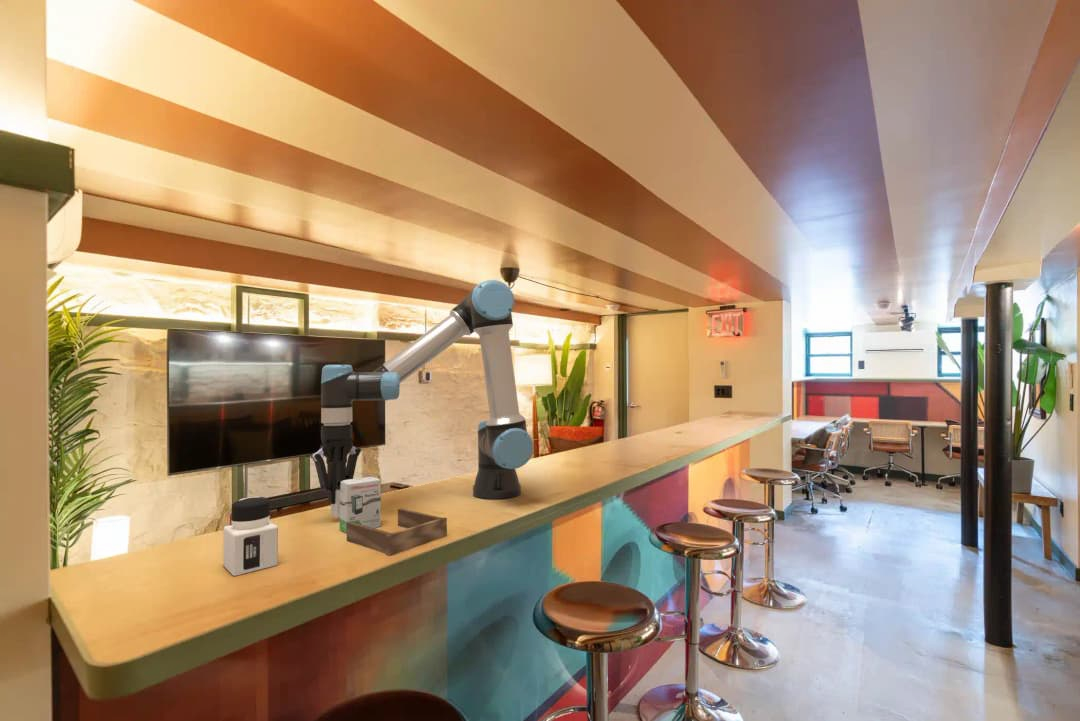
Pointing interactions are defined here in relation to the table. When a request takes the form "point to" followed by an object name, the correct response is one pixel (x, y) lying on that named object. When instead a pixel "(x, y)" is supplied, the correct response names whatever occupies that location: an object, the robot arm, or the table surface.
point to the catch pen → (399, 532)
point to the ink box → (360, 502)
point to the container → (250, 537)
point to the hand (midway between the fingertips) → (336, 515)
